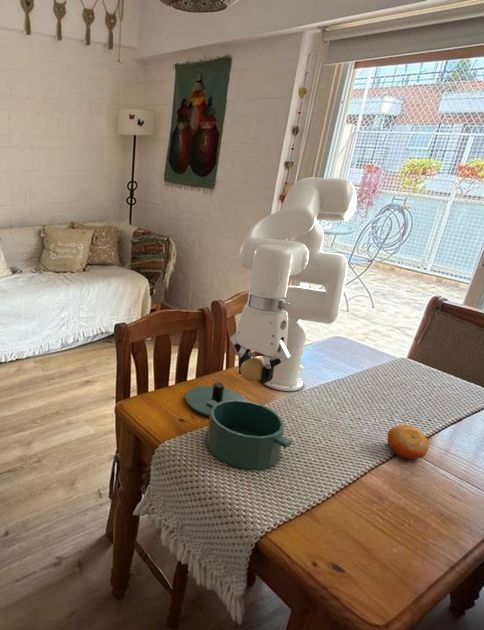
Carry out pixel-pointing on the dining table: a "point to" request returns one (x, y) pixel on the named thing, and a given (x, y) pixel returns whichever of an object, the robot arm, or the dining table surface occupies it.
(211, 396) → the lid
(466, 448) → the dining table surface
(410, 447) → the fruit
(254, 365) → the tan rounded piece
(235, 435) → the pot
